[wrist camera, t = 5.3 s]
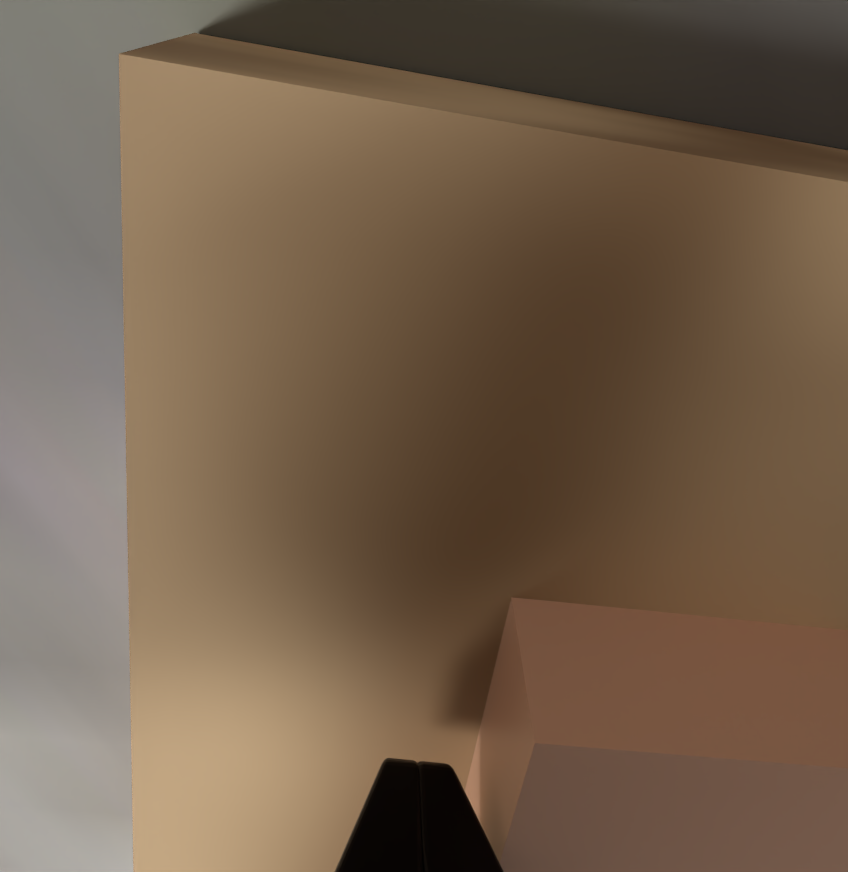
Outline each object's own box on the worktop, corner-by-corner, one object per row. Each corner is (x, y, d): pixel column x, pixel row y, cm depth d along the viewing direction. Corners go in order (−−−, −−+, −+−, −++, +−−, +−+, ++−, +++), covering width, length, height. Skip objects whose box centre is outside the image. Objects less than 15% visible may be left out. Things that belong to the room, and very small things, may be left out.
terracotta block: (848, 628, 9) (946, 775, 8) (737, 841, 11) (796, 995, 10) (511, 597, 9) (535, 742, 7) (457, 820, 11) (466, 977, 9)
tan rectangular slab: (984, 175, 9) (1156, 237, 7) (632, 887, 16) (666, 1029, 14) (194, 33, 9) (119, 54, 6) (175, 845, 15) (135, 988, 13)
